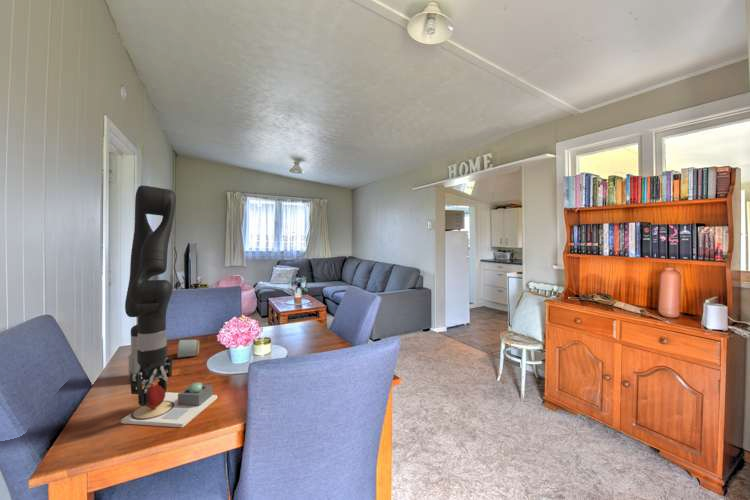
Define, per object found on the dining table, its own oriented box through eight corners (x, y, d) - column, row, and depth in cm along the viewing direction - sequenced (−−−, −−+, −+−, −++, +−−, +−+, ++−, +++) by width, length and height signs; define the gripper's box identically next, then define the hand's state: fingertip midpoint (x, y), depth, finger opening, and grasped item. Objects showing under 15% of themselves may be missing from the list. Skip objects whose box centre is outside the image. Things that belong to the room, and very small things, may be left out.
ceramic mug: (198, 357, 145) (198, 340, 145) (177, 360, 141) (177, 342, 141) (200, 350, 154) (200, 334, 154) (180, 352, 151) (180, 336, 151)
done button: (186, 396, 103) (186, 387, 103) (193, 390, 107) (193, 382, 107) (197, 396, 103) (197, 388, 102) (204, 391, 106) (204, 382, 106)
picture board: (119, 423, 93) (119, 419, 93) (163, 394, 110) (163, 391, 110) (182, 427, 91) (182, 423, 91) (217, 398, 108) (217, 394, 108)
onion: (149, 404, 101) (150, 379, 102) (168, 404, 102) (169, 378, 102) (137, 413, 96) (138, 386, 96) (157, 413, 96) (158, 386, 96)
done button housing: (178, 405, 102) (177, 394, 101) (192, 394, 108) (192, 384, 108) (198, 406, 101) (198, 395, 101) (212, 395, 108) (212, 385, 108)
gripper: (158, 337, 105) (159, 387, 106) (120, 353, 91) (121, 410, 92) (180, 338, 105) (180, 388, 105) (144, 354, 90) (145, 412, 91)
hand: (153, 398), depth 98 cm, fingers open, 6 cm apart
